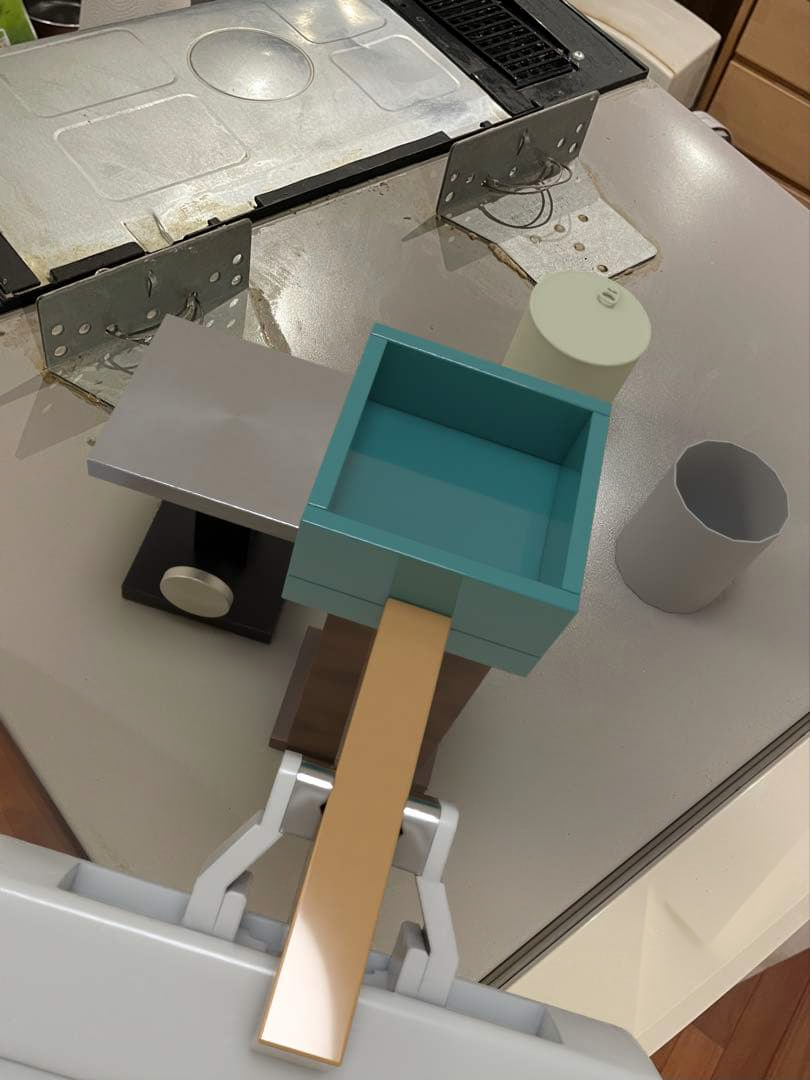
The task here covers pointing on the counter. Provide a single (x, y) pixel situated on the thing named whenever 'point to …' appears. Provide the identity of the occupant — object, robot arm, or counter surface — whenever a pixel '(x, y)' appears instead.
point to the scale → (219, 470)
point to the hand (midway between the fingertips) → (370, 779)
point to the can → (580, 334)
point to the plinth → (330, 686)
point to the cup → (702, 526)
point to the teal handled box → (420, 616)
